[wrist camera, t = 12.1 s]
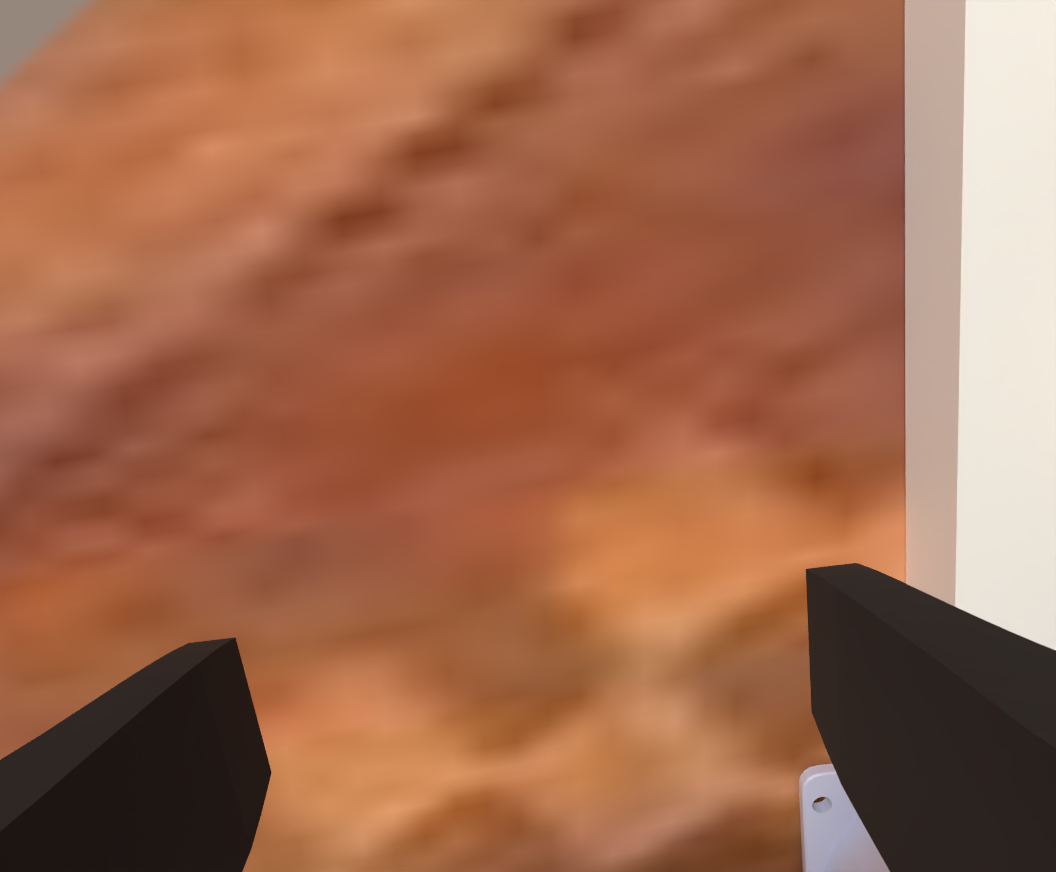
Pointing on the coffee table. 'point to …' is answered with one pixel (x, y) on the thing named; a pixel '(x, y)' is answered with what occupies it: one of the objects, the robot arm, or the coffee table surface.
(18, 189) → the coffee table surface
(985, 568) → the dock
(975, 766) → the robot arm
